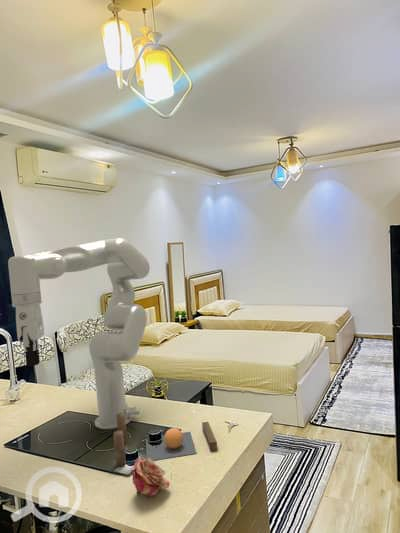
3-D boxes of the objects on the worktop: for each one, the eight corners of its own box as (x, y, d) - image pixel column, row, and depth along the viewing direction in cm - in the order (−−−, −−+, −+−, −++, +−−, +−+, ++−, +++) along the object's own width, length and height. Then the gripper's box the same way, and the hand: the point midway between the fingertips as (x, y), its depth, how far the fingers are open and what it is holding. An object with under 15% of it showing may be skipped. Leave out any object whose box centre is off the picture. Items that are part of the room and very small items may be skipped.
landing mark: (190, 432, 125) (190, 431, 125) (196, 453, 111) (196, 453, 111) (145, 438, 123) (145, 438, 123) (146, 461, 109) (146, 461, 109)
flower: (123, 503, 88) (142, 474, 88) (120, 474, 97) (136, 447, 97) (159, 514, 92) (177, 486, 91) (153, 486, 100) (169, 460, 100)
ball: (180, 423, 119) (162, 427, 118) (182, 430, 113) (162, 434, 112) (184, 442, 118) (165, 446, 118) (185, 449, 113) (166, 454, 112)
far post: (127, 440, 122) (124, 412, 122) (127, 444, 120) (124, 415, 120) (118, 442, 122) (116, 413, 122) (118, 446, 120) (115, 416, 119)
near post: (126, 461, 110) (123, 430, 110) (125, 466, 107) (122, 434, 107) (116, 463, 110) (113, 431, 109) (116, 468, 107) (113, 435, 107)
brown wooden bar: (208, 429, 126) (208, 421, 126) (217, 450, 112) (216, 441, 112) (202, 430, 125) (201, 422, 125) (210, 451, 112) (209, 442, 111)
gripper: (33, 301, 103) (40, 370, 104) (47, 295, 118) (52, 356, 118) (3, 304, 102) (10, 374, 102) (20, 298, 117) (26, 359, 117)
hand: (33, 364), depth 110 cm, fingers closed
